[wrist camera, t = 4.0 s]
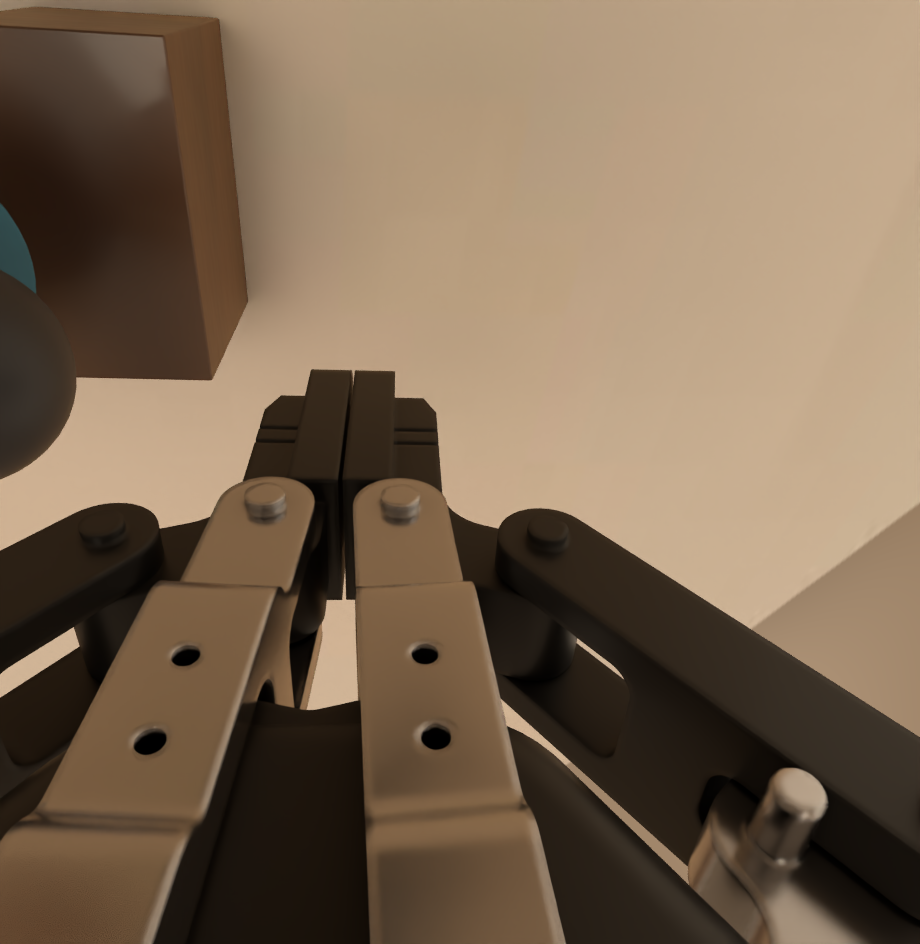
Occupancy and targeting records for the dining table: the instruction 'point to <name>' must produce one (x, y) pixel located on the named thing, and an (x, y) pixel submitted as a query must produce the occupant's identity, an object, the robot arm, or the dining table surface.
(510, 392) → the dining table surface
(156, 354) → the walnut block
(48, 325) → the striped banded cylinder
